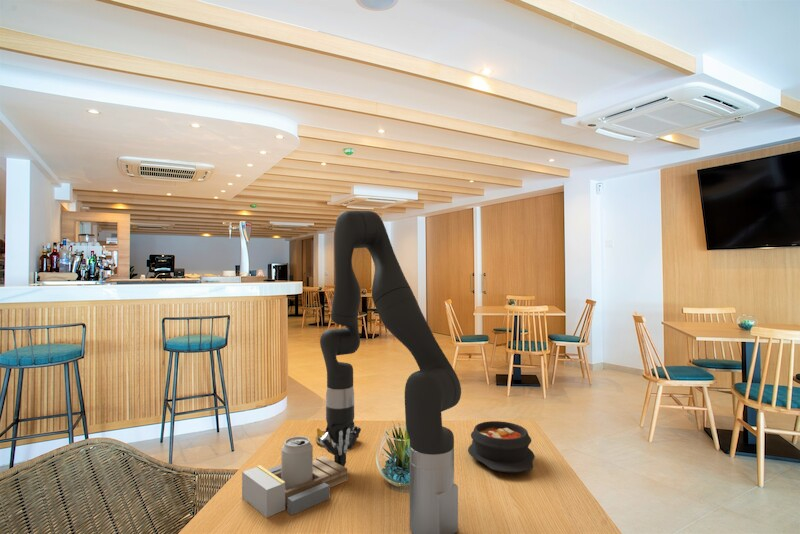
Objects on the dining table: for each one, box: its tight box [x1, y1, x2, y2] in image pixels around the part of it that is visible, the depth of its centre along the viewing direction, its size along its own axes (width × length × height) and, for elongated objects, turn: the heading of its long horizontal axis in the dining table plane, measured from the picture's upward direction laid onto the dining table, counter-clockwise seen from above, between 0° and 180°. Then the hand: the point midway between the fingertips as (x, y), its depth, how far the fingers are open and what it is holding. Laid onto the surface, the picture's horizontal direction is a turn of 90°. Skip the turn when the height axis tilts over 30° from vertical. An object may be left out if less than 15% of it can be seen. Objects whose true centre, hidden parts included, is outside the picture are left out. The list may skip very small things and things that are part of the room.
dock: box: [241, 464, 331, 519], centre depth 103 cm, size 18×14×6 cm
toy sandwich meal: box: [315, 428, 360, 447], centre depth 137 cm, size 12×14×5 cm
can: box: [280, 435, 314, 490], centre depth 106 cm, size 8×8×12 cm
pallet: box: [273, 455, 349, 507], centre depth 108 cm, size 11×18×3 cm, turn 135°
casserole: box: [467, 420, 535, 473], centre depth 124 cm, size 25×19×8 cm
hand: (340, 466), depth 116 cm, fingers closed
